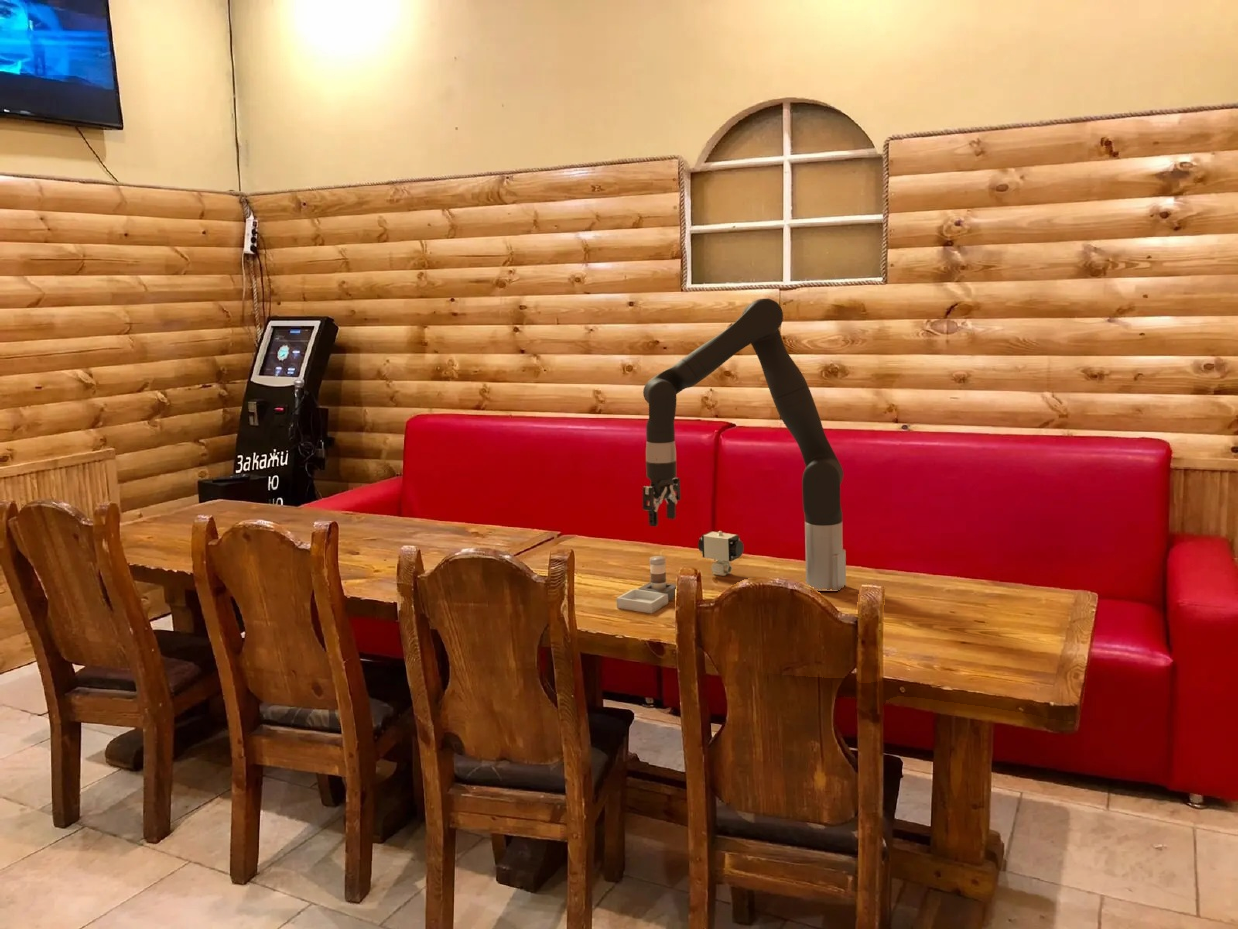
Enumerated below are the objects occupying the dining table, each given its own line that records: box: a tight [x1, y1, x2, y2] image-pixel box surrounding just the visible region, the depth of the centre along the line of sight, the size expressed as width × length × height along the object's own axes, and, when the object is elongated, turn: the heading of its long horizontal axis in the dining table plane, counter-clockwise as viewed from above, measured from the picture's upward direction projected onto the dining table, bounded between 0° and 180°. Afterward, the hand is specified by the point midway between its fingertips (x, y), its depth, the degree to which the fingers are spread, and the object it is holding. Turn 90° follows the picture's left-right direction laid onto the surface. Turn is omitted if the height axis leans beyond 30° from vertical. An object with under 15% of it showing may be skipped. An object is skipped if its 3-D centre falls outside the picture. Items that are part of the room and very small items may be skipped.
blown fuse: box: [649, 555, 667, 591], centre depth 240 cm, size 4×4×10 cm
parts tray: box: [615, 588, 669, 614], centre depth 234 cm, size 10×8×2 cm
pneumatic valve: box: [697, 530, 744, 577], centre depth 255 cm, size 6×12×12 cm, turn 53°
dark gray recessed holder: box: [637, 581, 676, 602], centre depth 240 cm, size 8×7×2 cm
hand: (662, 522), depth 238 cm, fingers open, 8 cm apart
